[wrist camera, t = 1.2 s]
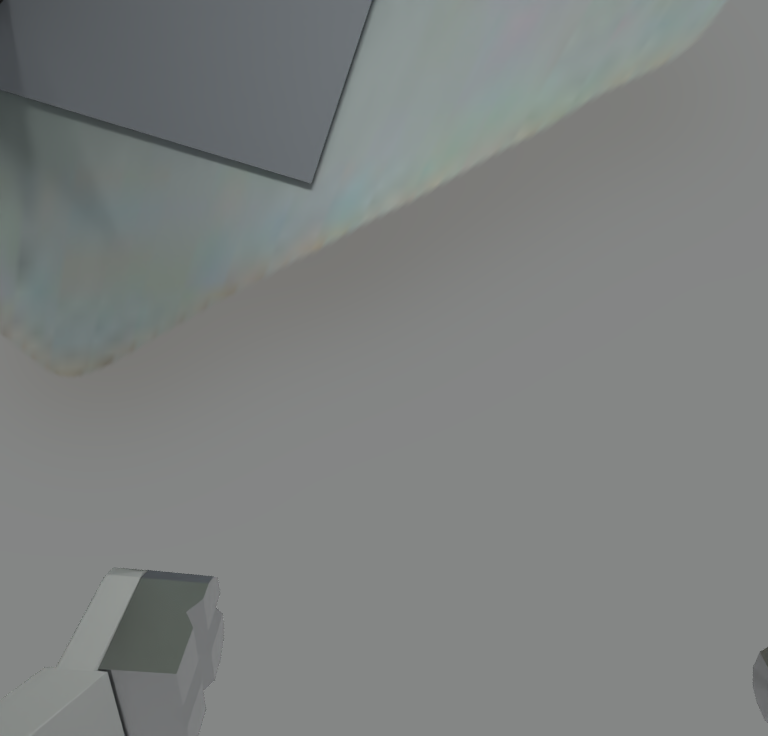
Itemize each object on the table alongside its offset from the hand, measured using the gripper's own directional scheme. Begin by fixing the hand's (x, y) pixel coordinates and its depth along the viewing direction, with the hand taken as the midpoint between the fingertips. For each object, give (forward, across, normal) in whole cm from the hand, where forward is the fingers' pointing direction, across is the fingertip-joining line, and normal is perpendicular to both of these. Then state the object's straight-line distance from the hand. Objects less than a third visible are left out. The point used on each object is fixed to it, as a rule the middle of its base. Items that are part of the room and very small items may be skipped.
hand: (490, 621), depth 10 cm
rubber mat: (+36, +15, -6) cm, 40 cm away
